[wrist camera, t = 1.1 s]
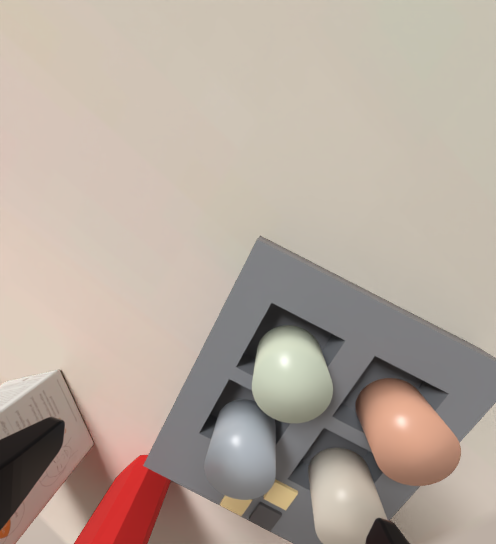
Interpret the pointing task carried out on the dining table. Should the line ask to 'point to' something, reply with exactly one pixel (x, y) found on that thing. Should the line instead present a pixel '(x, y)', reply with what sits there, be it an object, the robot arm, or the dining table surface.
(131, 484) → the french fries
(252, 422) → the slate button
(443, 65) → the dining table surface
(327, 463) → the ivory button
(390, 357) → the button board
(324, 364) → the sage button
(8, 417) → the small box
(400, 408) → the terracotta button
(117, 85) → the dining table surface
